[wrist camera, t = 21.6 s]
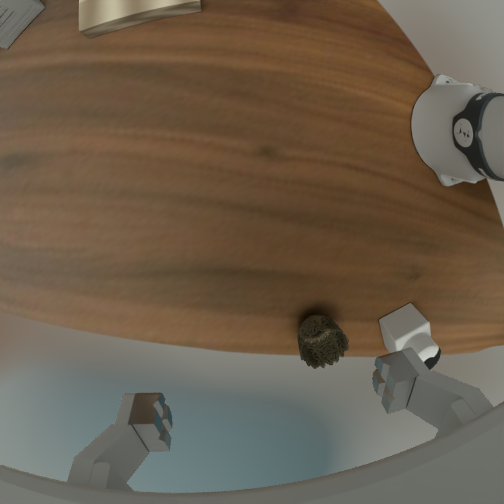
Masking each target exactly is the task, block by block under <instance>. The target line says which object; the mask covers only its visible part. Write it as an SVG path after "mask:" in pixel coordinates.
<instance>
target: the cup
mask: <svg viewBox="0 0 504 504" xmlns="http://www.w3.org/2000/svg"><path fill="white" fill-rule="evenodd" d="M348 342H349V340H348V338H347V337H346V336H345V334H344V332H343V331H342V330H341V329H340V328H339V326H338V325H337V324H336V323H335V322H334V321H333V320H332V319H331V318H329V317H327V316H324V315H319V314H315V313H313V314H309V315H307V316H306V317H305V318H304V320H303V322H302V324H301V326H300V328H299V331H298V344H299V350H300V356H301V360H304V361H306V363H307V365H308V366H310V365H311V366H312V367H313V368H314V369H316V368H318V367H319V366H321V367H322V368H324V367H325V363H327V364H329V365H333V362H338V360H339V355H340V356H341V357H343V356H344V353H343V352H344V351H347V350H348Z"/></svg>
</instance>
